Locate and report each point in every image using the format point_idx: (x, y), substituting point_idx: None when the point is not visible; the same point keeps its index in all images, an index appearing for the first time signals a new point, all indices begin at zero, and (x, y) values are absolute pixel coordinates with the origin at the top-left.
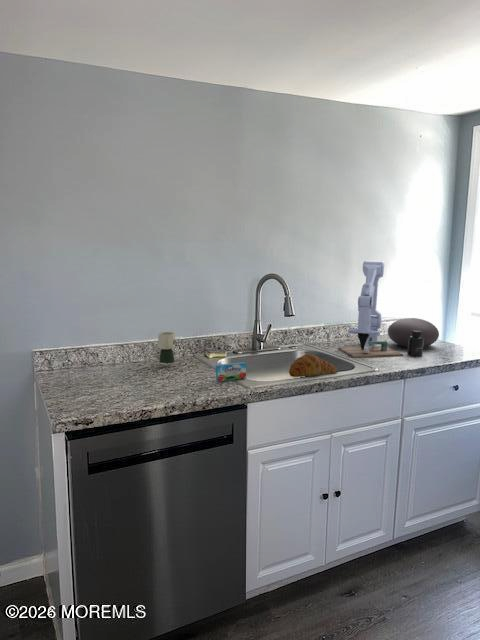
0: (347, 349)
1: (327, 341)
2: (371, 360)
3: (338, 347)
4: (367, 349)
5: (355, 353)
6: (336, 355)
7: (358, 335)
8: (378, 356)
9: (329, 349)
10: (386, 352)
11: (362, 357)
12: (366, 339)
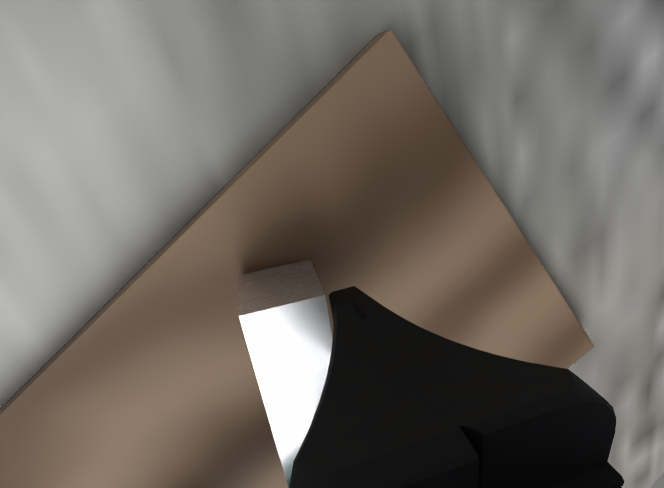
0: (511, 319)
1: (647, 472)
2: (76, 17)
3: (591, 344)
4: (262, 298)
5: (398, 191)
6: (590, 40)
7: (596, 429)
8: (110, 301)
9: (648, 272)
10: (98, 479)
11: (277, 135)
12: (316, 418)
